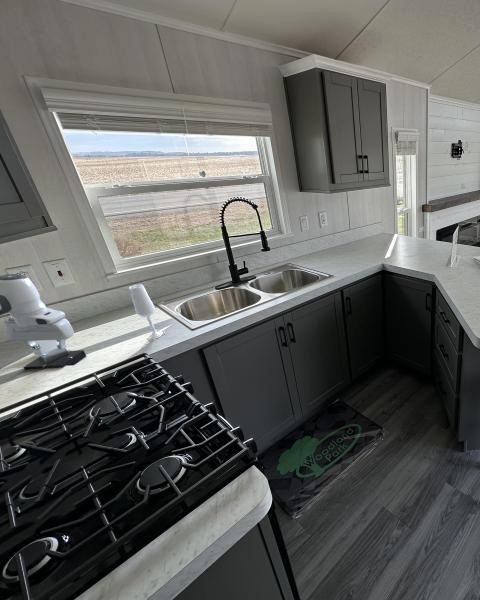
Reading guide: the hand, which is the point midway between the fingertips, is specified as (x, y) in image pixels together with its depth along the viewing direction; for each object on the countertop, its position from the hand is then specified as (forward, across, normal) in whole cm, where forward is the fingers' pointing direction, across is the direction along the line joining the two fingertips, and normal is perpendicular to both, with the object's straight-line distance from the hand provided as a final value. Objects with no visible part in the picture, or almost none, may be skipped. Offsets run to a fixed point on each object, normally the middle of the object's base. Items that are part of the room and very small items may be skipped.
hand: (49, 348), depth 125 cm
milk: (+8, -12, +10) cm, 17 cm away
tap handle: (+4, +1, 0) cm, 4 cm away
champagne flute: (+7, +26, +19) cm, 33 cm away
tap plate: (+7, 0, 0) cm, 7 cm away
